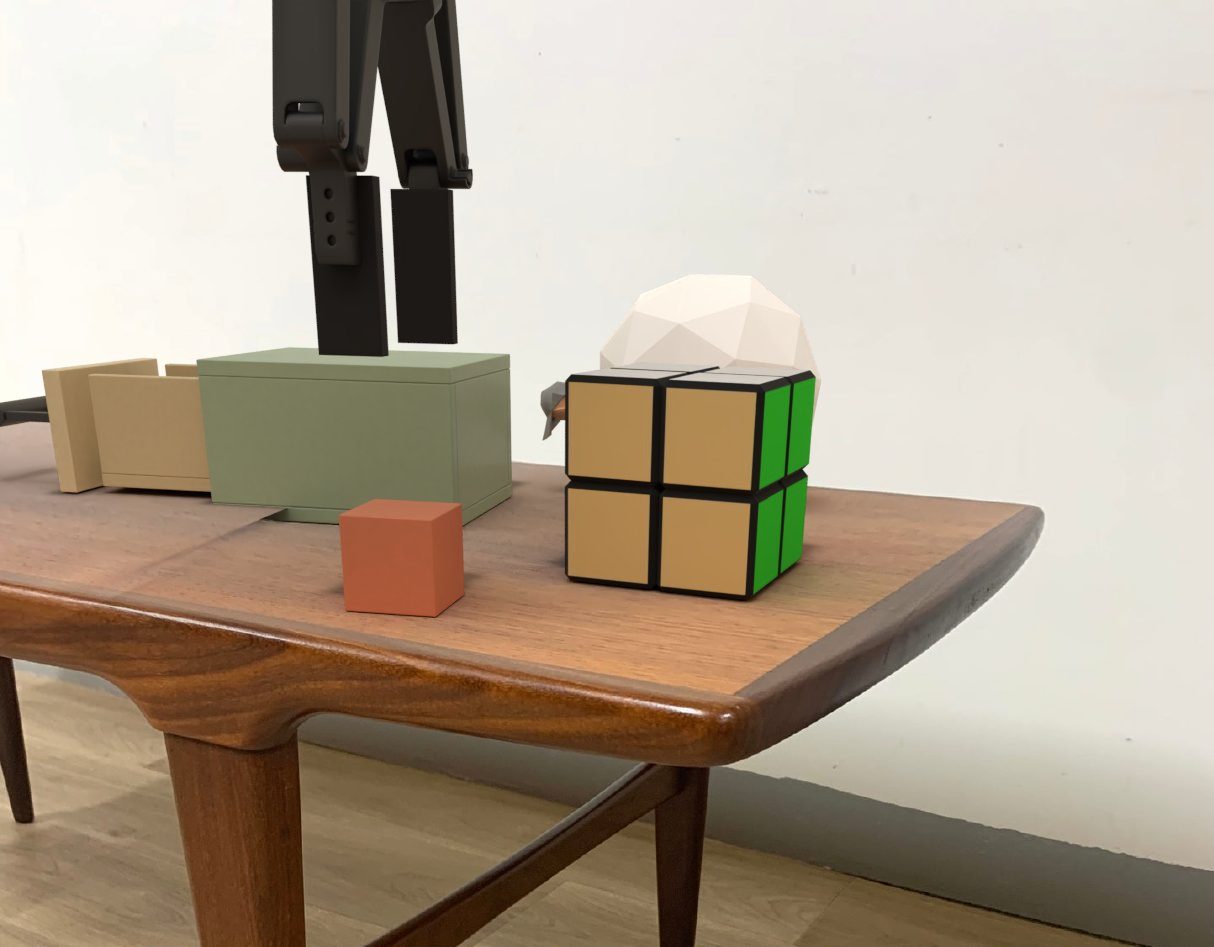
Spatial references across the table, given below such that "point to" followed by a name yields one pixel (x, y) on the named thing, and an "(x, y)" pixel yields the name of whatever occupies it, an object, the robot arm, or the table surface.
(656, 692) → the table surface
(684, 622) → the table surface
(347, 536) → the block
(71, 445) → the drawer
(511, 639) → the table surface
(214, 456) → the cabinet
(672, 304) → the person on sphere
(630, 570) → the puzzle cube
